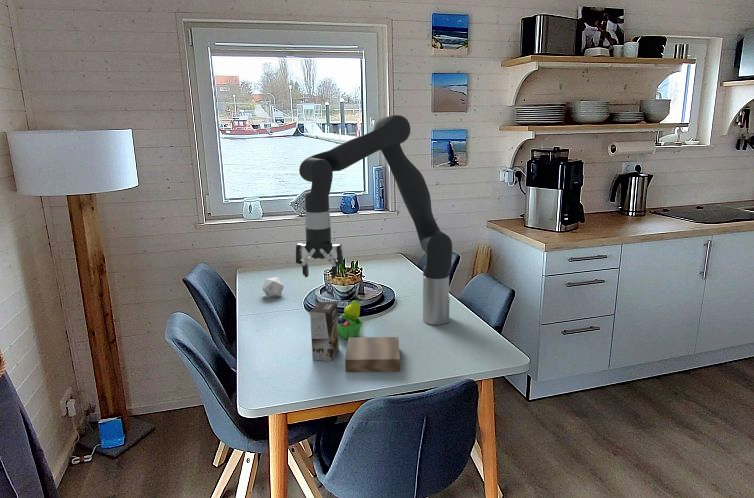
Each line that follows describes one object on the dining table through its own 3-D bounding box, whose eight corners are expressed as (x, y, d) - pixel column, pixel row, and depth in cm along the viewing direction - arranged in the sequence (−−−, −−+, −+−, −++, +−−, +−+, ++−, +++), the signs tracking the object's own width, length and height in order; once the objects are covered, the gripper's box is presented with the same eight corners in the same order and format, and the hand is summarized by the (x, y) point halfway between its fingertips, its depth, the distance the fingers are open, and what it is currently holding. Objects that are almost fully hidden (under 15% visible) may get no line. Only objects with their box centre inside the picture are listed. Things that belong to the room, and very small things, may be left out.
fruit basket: (331, 328, 180) (329, 298, 177) (354, 324, 183) (353, 295, 180) (342, 341, 170) (340, 310, 167) (366, 336, 173) (365, 305, 170)
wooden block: (398, 348, 164) (398, 337, 163) (399, 371, 150) (399, 359, 148) (349, 348, 164) (348, 337, 163) (345, 371, 150) (345, 359, 149)
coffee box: (331, 361, 156) (329, 312, 152) (311, 360, 157) (309, 311, 153) (339, 348, 165) (337, 301, 161) (320, 347, 166) (318, 300, 162)
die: (259, 298, 213) (259, 284, 206) (268, 282, 219) (269, 269, 211) (276, 305, 212) (278, 292, 205) (285, 290, 218) (287, 277, 211)
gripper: (343, 223, 156) (345, 273, 160) (298, 222, 157) (300, 272, 161) (339, 228, 148) (340, 281, 153) (291, 227, 150) (294, 280, 154)
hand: (320, 276), depth 157 cm, fingers open, 8 cm apart
